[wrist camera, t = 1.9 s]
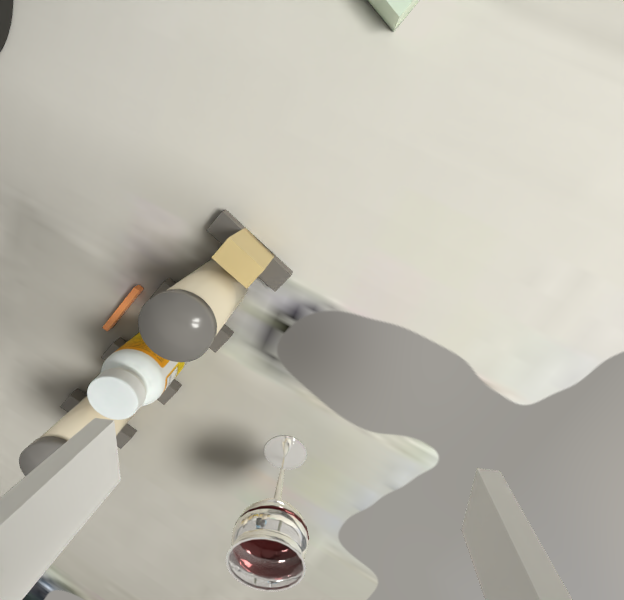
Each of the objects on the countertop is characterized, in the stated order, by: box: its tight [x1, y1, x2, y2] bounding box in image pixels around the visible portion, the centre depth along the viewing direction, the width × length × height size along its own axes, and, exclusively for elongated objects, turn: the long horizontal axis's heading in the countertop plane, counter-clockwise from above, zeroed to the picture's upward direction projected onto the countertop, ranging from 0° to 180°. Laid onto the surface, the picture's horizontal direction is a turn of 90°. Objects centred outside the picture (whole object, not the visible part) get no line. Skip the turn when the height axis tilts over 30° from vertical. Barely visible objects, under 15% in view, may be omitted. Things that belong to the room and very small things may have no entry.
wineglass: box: [226, 436, 309, 591], centre depth 33 cm, size 7×7×12 cm
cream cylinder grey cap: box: [138, 259, 248, 362], centre depth 27 cm, size 5×5×10 cm
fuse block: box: [60, 210, 293, 449], centre depth 32 cm, size 10×29×5 cm, turn 136°
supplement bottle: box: [87, 332, 187, 420], centre depth 30 cm, size 5×5×10 cm
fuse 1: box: [19, 396, 138, 476], centre depth 33 cm, size 5×5×10 cm
